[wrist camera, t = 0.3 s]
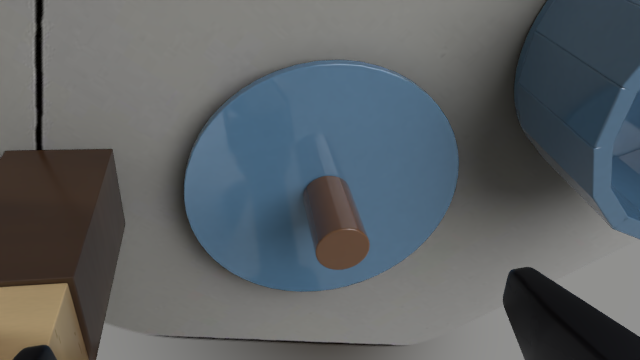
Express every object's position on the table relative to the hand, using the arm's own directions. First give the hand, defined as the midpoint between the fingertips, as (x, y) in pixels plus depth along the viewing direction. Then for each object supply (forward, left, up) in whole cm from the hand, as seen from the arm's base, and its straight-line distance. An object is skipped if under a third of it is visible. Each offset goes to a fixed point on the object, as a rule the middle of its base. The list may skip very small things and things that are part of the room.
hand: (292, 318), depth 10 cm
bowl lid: (-7, -4, -14) cm, 16 cm away
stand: (-7, +8, -14) cm, 18 cm away
